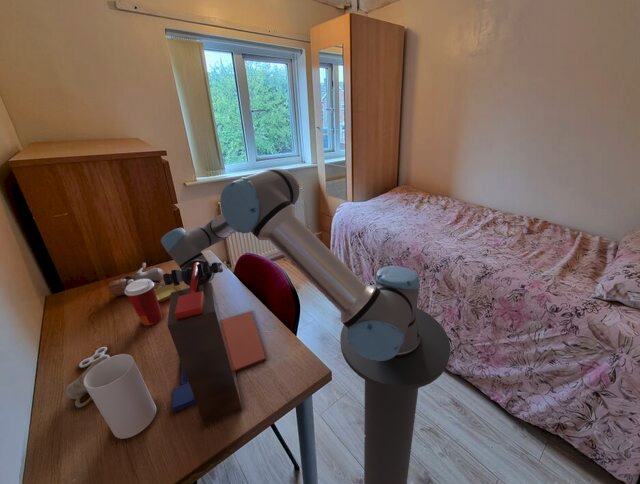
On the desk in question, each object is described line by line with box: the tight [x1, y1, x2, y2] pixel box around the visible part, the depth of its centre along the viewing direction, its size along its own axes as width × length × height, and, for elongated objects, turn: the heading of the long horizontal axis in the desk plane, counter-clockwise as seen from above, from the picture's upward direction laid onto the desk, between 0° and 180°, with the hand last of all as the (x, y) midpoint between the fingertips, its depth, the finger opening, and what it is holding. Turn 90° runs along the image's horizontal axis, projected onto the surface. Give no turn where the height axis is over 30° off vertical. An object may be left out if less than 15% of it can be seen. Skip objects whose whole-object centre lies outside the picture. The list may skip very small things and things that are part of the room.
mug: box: [65, 357, 107, 408], centre depth 71 cm, size 8×10×10 cm
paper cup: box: [124, 279, 163, 326], centre depth 92 cm, size 8×8×14 cm
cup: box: [84, 353, 157, 439], centre depth 62 cm, size 8×8×16 cm
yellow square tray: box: [154, 283, 183, 303], centre depth 107 cm, size 9×9×2 cm
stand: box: [167, 281, 243, 426], centre depth 63 cm, size 8×11×29 cm
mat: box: [222, 311, 266, 372], centre depth 86 cm, size 12×22×1 cm, turn 27°
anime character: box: [108, 262, 166, 297], centre depth 111 cm, size 25×6×18 cm
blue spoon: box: [172, 365, 196, 413], centre depth 75 cm, size 19×4×1 cm, turn 27°
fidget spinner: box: [78, 346, 111, 369], centre depth 81 cm, size 7×6×1 cm
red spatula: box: [175, 262, 204, 319], centre depth 61 cm, size 19×4×1 cm, turn 22°
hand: (187, 273), depth 61 cm, fingers open, 4 cm apart
